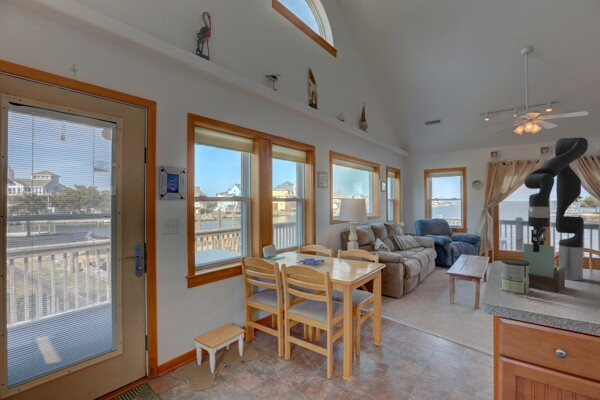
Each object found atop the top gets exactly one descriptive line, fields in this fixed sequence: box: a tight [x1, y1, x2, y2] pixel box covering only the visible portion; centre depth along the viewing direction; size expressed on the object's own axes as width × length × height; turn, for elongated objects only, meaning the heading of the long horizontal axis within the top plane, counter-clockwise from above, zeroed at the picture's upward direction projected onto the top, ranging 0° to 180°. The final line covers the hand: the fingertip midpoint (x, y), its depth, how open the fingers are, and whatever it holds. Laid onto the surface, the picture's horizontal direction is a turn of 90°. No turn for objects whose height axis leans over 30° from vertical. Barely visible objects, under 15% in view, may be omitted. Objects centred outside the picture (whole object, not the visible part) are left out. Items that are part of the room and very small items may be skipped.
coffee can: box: [500, 258, 530, 296], centre depth 127 cm, size 10×10×14 cm
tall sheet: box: [522, 242, 555, 278], centre depth 129 cm, size 1×11×20 cm, turn 38°
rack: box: [529, 267, 566, 294], centre depth 132 cm, size 14×15×10 cm
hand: (538, 251), depth 129 cm, fingers open, 8 cm apart
